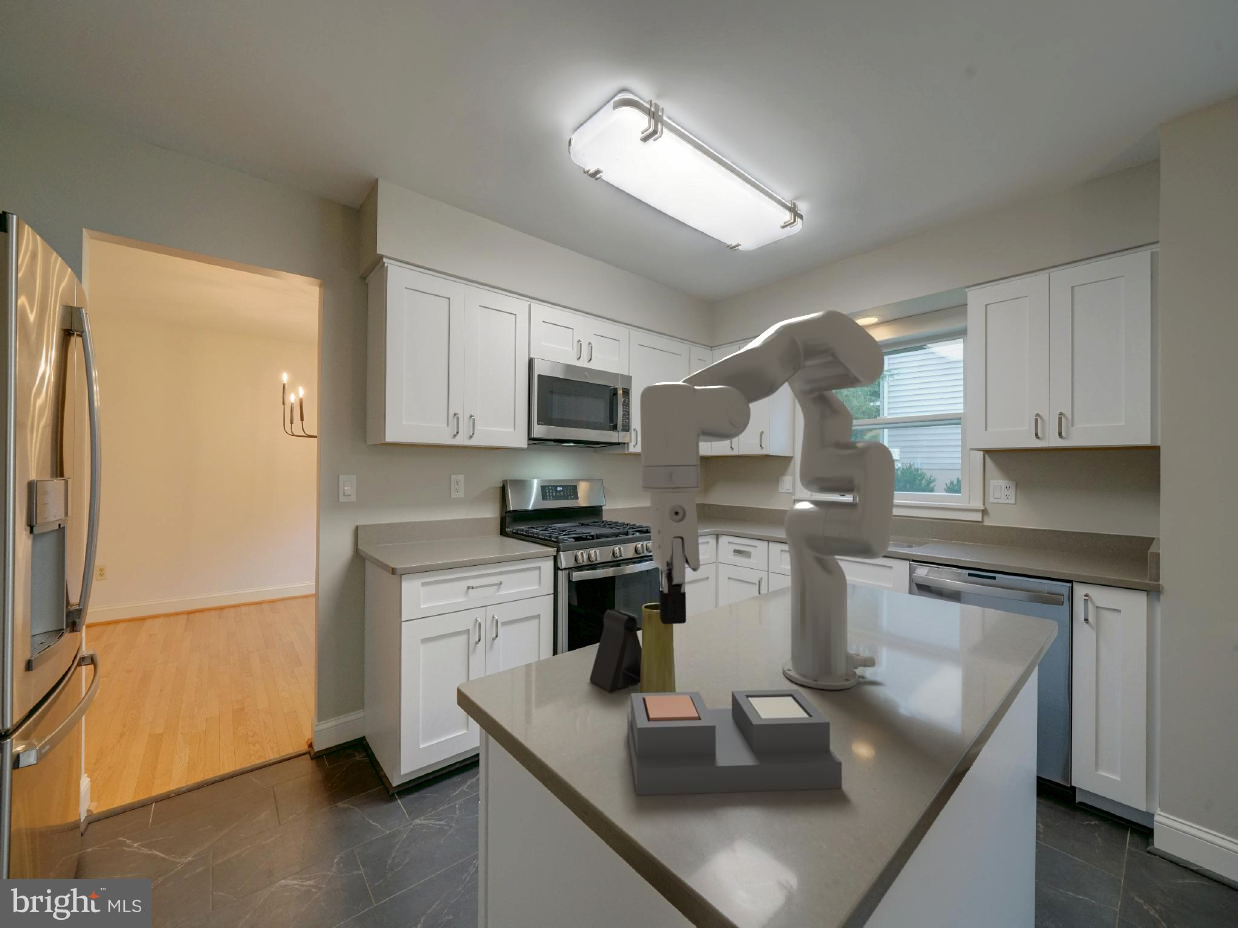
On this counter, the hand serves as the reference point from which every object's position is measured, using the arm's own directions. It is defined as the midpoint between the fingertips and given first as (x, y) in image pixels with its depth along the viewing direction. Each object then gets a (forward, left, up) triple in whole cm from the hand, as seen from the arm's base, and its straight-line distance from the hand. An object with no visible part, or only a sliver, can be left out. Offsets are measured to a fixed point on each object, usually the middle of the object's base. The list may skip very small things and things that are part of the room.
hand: (672, 621), depth 66 cm
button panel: (-7, 0, -18) cm, 19 cm away
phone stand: (+5, -25, -18) cm, 31 cm away
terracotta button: (0, 0, -14) cm, 14 cm away
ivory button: (-14, 0, -14) cm, 20 cm away
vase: (-1, -20, -18) cm, 27 cm away
